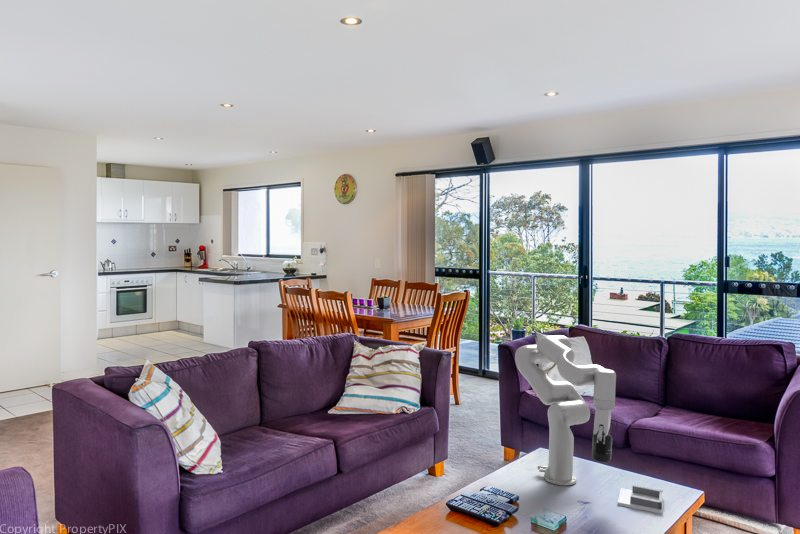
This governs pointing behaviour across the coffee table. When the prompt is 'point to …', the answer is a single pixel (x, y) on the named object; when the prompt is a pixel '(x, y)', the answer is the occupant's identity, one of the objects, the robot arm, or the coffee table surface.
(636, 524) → the coffee table surface
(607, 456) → the supplement bottle
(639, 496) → the cradle tray
